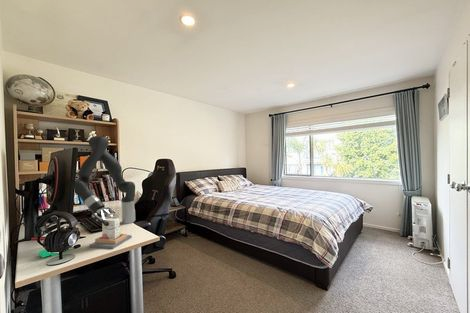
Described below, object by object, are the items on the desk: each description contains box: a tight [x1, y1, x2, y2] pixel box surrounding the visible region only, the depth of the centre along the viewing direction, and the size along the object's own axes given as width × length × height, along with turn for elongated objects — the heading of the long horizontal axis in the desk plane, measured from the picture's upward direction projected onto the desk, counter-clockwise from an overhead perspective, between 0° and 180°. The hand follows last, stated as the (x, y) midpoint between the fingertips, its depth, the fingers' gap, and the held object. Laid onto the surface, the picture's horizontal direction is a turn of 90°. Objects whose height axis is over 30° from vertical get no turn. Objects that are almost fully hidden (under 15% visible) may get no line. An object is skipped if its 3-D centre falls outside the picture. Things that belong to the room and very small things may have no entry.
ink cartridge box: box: [101, 212, 121, 239], centre depth 127 cm, size 9×5×15 cm, turn 84°
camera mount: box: [37, 249, 59, 258], centre depth 115 cm, size 12×8×10 cm, turn 150°
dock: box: [89, 233, 133, 249], centre depth 127 cm, size 16×16×4 cm
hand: (111, 223), depth 127 cm, fingers closed on ink cartridge box, 5 cm apart
